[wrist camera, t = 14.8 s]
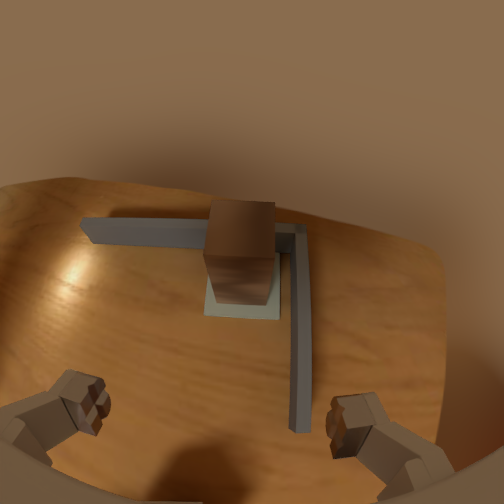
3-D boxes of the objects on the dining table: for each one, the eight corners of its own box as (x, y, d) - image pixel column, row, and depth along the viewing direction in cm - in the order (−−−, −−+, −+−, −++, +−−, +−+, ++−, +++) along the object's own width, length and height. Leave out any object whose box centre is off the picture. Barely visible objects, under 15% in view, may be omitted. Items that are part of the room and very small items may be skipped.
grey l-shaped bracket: (59, 389, 22) (38, 384, 19) (95, 235, 32) (82, 217, 29) (301, 427, 22) (310, 432, 18) (300, 244, 32) (306, 224, 28)
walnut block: (216, 303, 28) (202, 254, 19) (221, 260, 30) (211, 199, 22) (265, 305, 28) (274, 257, 19) (267, 262, 30) (275, 202, 22)
